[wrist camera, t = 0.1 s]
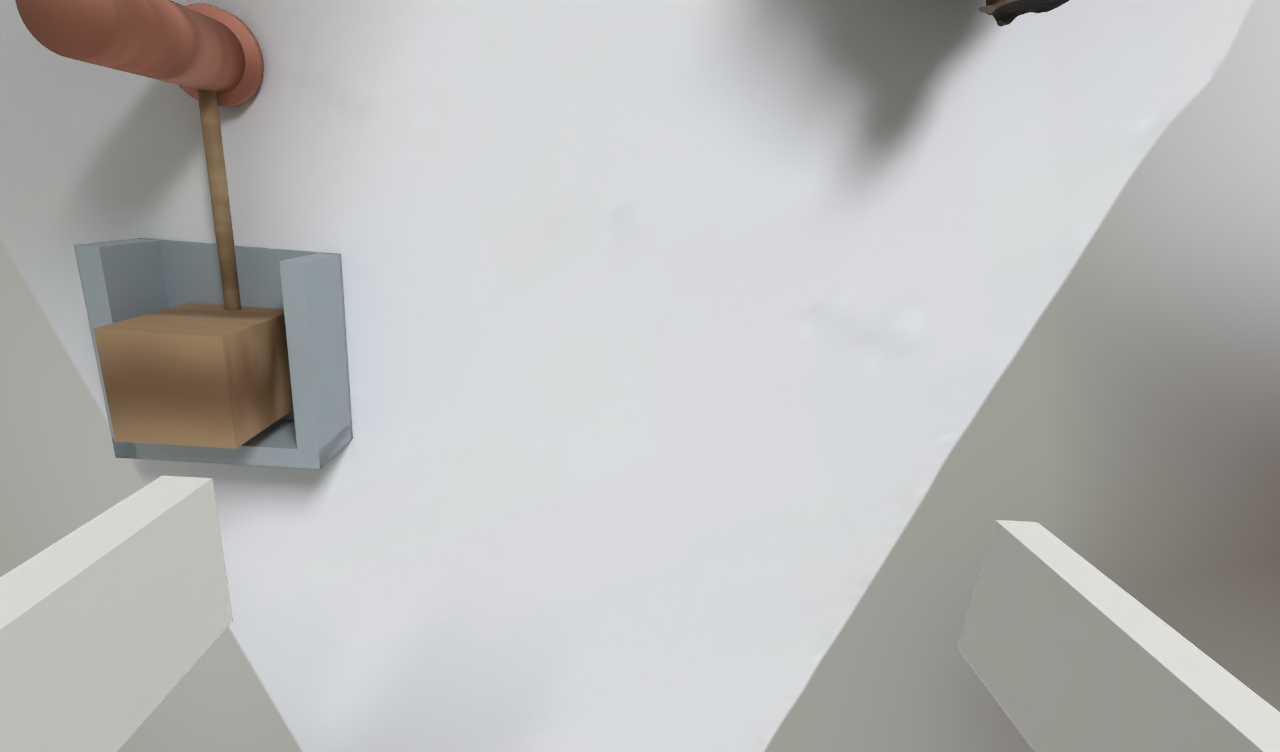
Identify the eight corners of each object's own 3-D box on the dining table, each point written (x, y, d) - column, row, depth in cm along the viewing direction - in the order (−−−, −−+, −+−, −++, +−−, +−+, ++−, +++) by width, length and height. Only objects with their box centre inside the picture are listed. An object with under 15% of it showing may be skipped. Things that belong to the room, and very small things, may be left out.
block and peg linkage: (151, 1, 31) (-33, -75, 22) (270, 13, 31) (135, -56, 22) (207, 395, 37) (82, 458, 29) (305, 401, 38) (211, 465, 29)
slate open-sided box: (141, 238, 35) (74, 244, 30) (340, 254, 35) (302, 263, 31) (171, 427, 38) (115, 457, 34) (352, 438, 39) (320, 468, 35)
